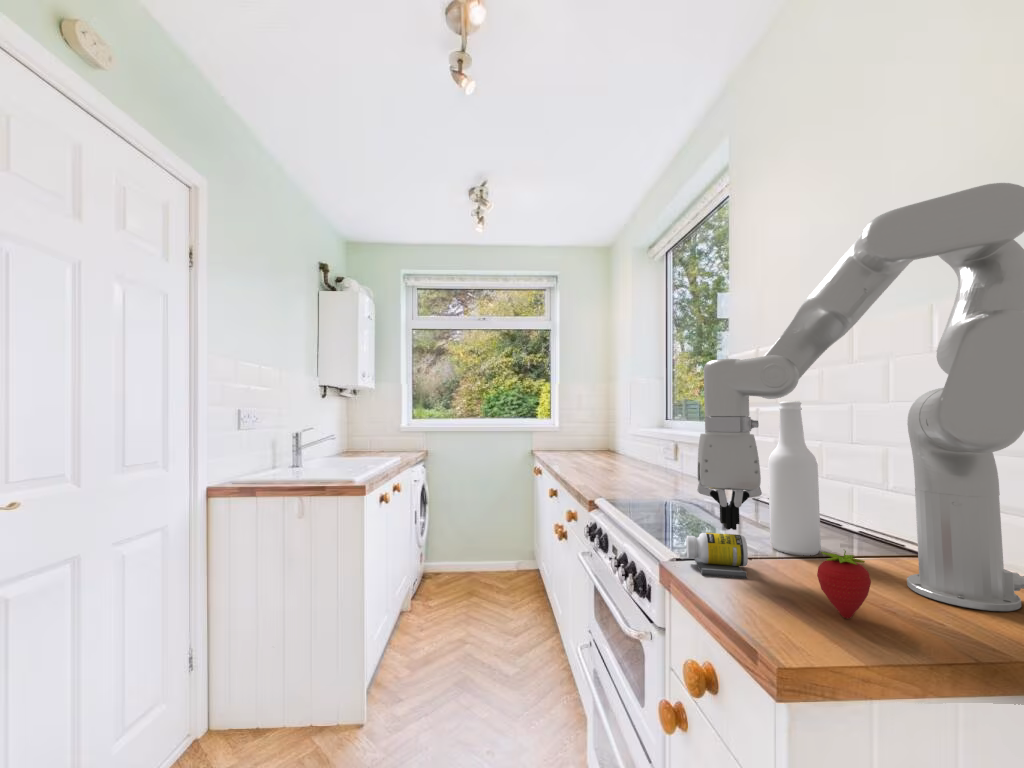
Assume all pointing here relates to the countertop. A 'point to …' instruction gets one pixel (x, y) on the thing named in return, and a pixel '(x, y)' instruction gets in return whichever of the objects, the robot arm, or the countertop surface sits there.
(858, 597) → the strawberry
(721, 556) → the supplement bottle
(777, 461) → the alcohol
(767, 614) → the countertop surface
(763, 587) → the countertop surface
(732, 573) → the tray
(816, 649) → the countertop surface
